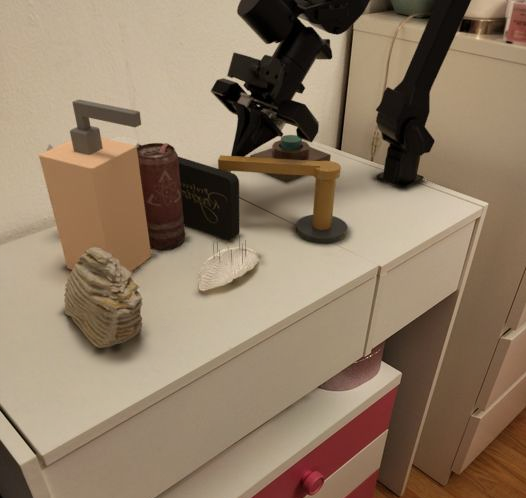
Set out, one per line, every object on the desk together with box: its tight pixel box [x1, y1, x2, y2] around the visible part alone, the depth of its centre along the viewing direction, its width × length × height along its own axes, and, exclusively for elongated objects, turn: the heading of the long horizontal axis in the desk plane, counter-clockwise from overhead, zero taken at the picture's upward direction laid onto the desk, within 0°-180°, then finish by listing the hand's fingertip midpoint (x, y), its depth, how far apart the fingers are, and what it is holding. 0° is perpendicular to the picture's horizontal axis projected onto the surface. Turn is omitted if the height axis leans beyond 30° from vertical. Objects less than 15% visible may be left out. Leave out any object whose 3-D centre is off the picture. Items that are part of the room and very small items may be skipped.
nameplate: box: [138, 143, 241, 242], centre depth 86 cm, size 21×2×10 cm, turn 55°
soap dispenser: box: [38, 99, 152, 273], centre depth 71 cm, size 13×9×22 cm
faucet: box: [295, 178, 348, 245], centre depth 84 cm, size 8×8×9 cm
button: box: [280, 134, 303, 150], centre depth 104 cm, size 4×4×2 cm
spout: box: [217, 154, 342, 180], centre depth 82 cm, size 18×4×3 cm, turn 83°
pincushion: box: [198, 234, 260, 292], centre depth 75 cm, size 12×6×6 cm, turn 144°
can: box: [137, 142, 186, 250], centre depth 80 cm, size 6×6×14 cm
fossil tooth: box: [63, 247, 143, 349], centre depth 64 cm, size 12×6×15 cm
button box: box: [249, 139, 331, 183], centre depth 106 cm, size 12×10×4 cm
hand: (234, 158), depth 83 cm, fingers closed
